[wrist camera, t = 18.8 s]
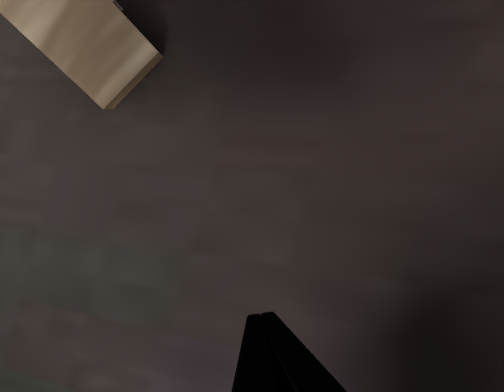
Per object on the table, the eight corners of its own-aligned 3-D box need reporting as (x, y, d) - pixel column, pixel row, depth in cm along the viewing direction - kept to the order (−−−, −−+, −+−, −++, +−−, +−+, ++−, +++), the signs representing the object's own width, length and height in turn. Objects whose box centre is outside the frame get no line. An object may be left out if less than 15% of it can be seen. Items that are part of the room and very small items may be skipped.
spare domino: (158, 52, 18) (10, -109, 15) (103, 109, 19) (-51, -36, 16) (163, 57, 20) (32, -85, 17) (113, 108, 21) (-23, -21, 18)
